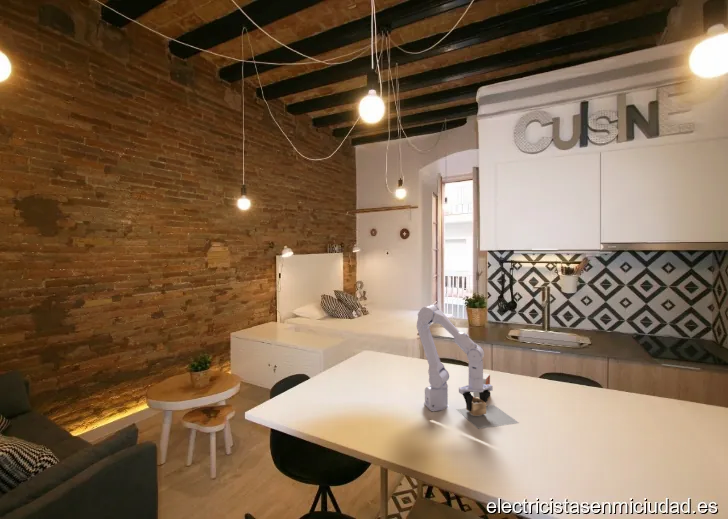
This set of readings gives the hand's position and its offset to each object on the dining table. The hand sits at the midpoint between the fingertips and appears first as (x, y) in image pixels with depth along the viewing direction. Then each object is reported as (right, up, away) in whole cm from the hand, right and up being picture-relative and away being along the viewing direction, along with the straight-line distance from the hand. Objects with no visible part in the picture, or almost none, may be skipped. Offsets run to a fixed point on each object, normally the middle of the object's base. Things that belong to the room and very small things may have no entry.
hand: (475, 408), depth 136 cm
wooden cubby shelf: (0, -1, 0) cm, 1 cm away
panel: (+4, -3, -2) cm, 5 cm away
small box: (+8, -3, +16) cm, 19 cm away
